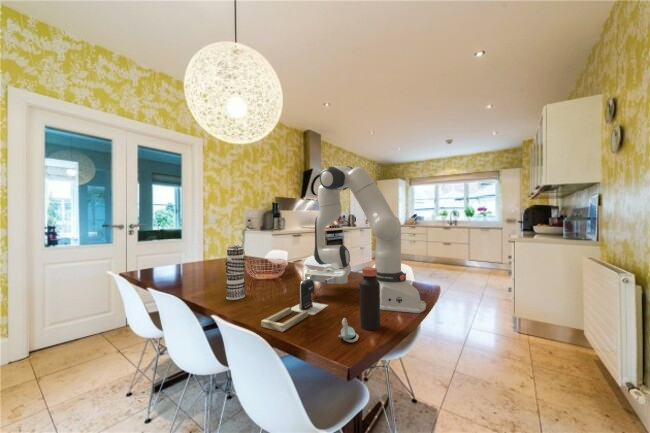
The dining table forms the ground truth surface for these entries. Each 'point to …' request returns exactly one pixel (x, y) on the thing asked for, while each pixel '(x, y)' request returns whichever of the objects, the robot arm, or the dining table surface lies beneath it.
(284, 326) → the beige rectangular frame
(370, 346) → the dining table surface
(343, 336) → the pacifier
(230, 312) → the dining table surface
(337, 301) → the dining table surface
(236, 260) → the decorative candle
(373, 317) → the bottle
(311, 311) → the tile pad
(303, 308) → the black upright rounded piece
